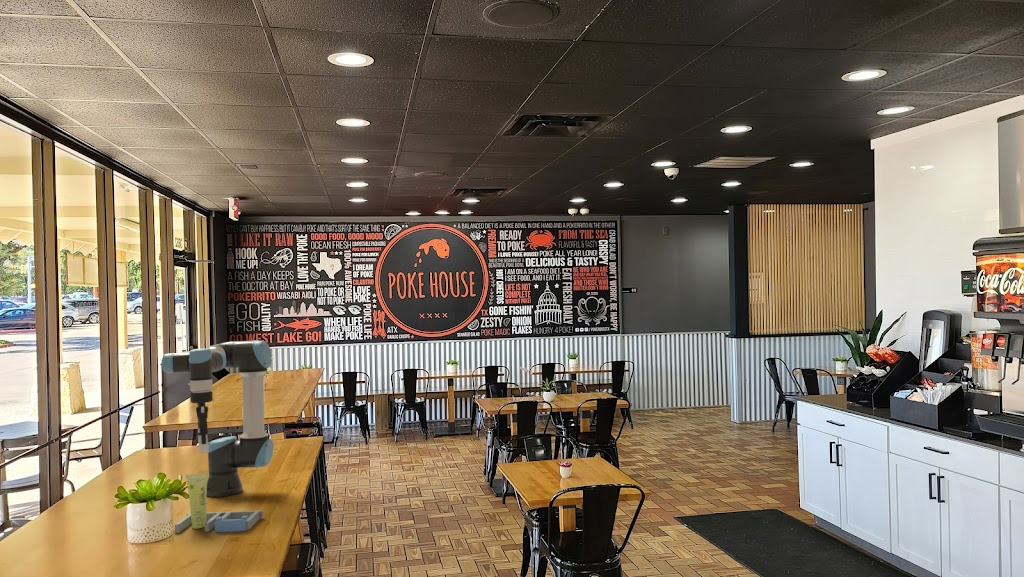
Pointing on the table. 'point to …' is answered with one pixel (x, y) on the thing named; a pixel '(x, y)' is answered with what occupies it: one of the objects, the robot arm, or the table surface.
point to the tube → (197, 498)
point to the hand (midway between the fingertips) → (203, 449)
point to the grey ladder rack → (224, 521)
